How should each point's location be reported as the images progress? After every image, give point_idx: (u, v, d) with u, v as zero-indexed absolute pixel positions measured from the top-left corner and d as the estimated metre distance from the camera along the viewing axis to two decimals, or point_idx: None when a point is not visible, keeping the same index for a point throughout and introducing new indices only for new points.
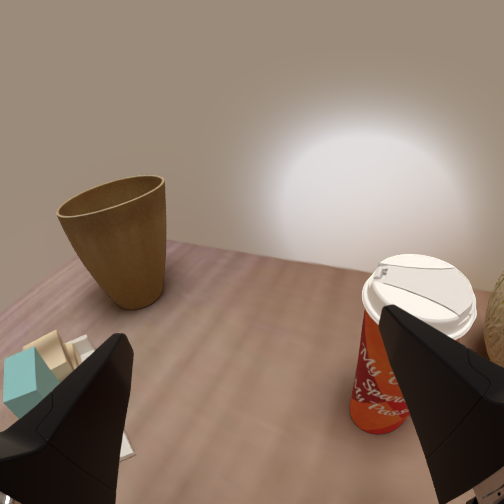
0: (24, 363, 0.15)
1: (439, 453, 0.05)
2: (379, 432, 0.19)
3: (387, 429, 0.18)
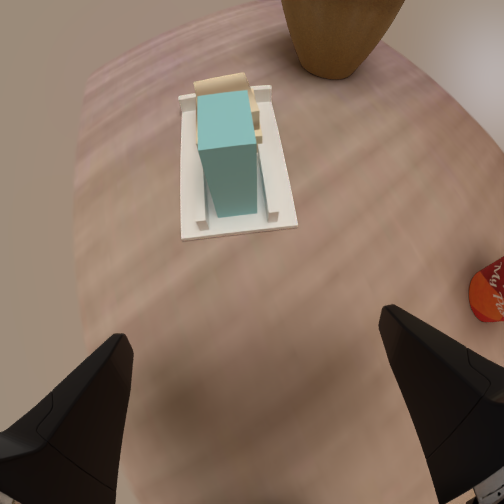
0: (233, 107, 0.17)
1: (439, 453, 0.05)
2: (478, 316, 0.22)
3: (484, 318, 0.21)
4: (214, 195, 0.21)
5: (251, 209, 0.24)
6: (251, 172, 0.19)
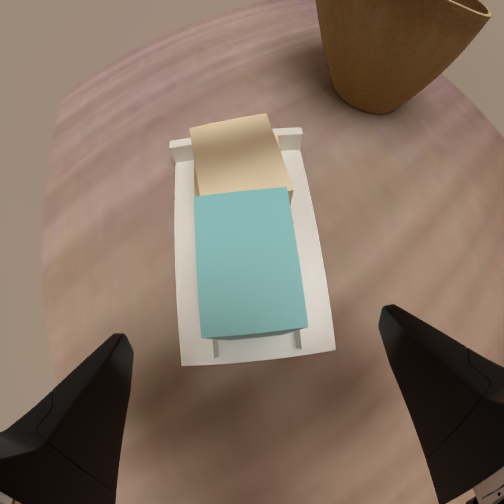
0: (262, 232, 0.10)
1: (439, 453, 0.05)
2: None
3: None
4: (226, 339, 0.14)
5: (276, 335, 0.17)
6: (288, 331, 0.12)
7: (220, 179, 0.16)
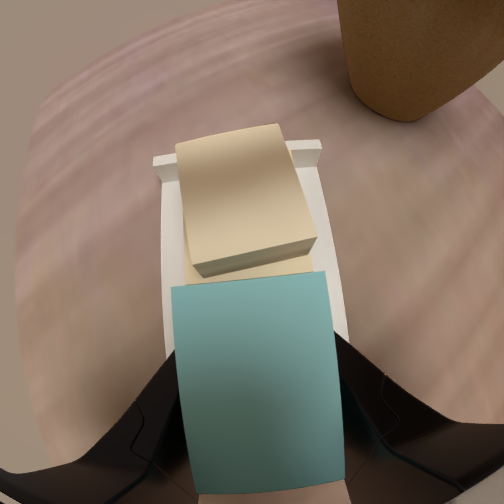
0: (285, 354, 0.06)
1: (354, 484, 0.05)
2: None
3: None
4: None
5: None
6: None
7: (216, 220, 0.12)
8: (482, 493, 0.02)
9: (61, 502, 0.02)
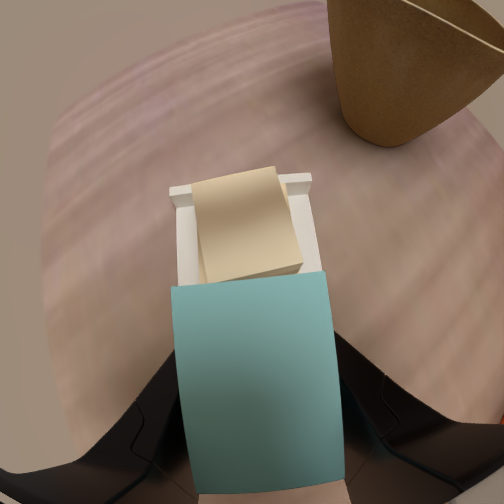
0: (285, 353, 0.06)
1: (354, 484, 0.05)
2: None
3: None
4: None
5: None
6: None
7: (225, 249, 0.15)
8: (482, 493, 0.02)
9: (61, 502, 0.02)
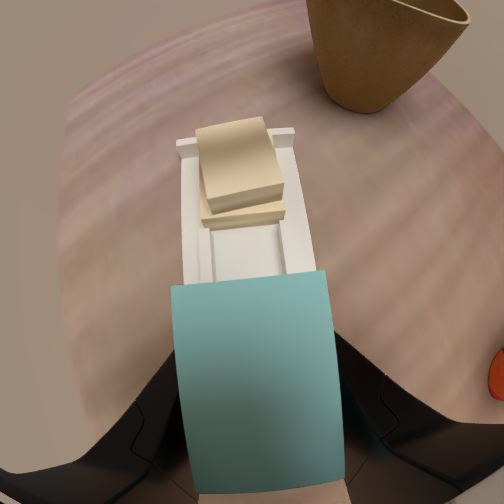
0: (285, 353, 0.06)
1: (354, 484, 0.05)
2: (494, 396, 0.18)
3: (499, 399, 0.17)
4: None
5: None
6: None
7: (222, 174, 0.18)
8: (482, 493, 0.02)
9: (61, 502, 0.02)
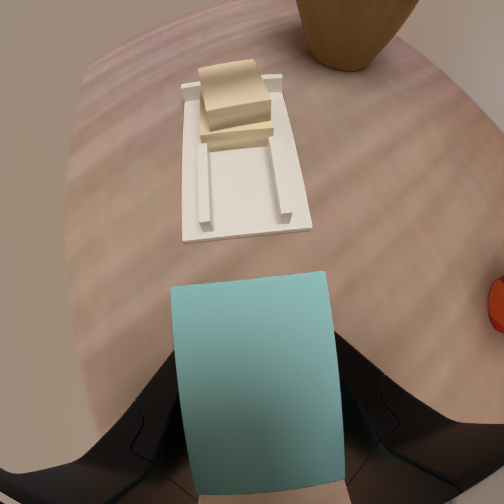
0: (285, 354, 0.06)
1: (354, 484, 0.05)
2: (496, 326, 0.19)
3: (502, 329, 0.18)
4: None
5: None
6: None
7: (219, 95, 0.20)
8: (482, 493, 0.02)
9: (61, 502, 0.02)
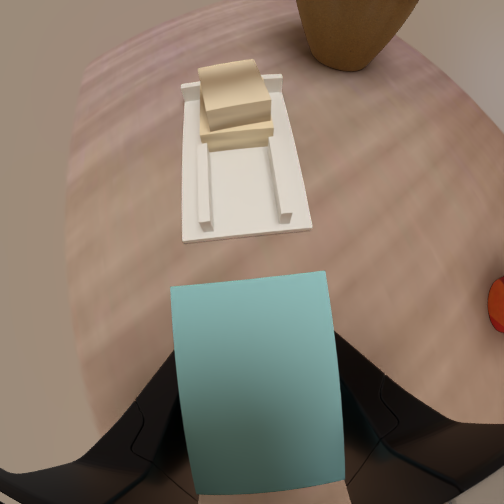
0: (285, 354, 0.06)
1: (354, 484, 0.05)
2: (496, 326, 0.19)
3: (502, 329, 0.18)
4: None
5: None
6: None
7: (219, 95, 0.20)
8: (482, 493, 0.02)
9: (61, 502, 0.02)
